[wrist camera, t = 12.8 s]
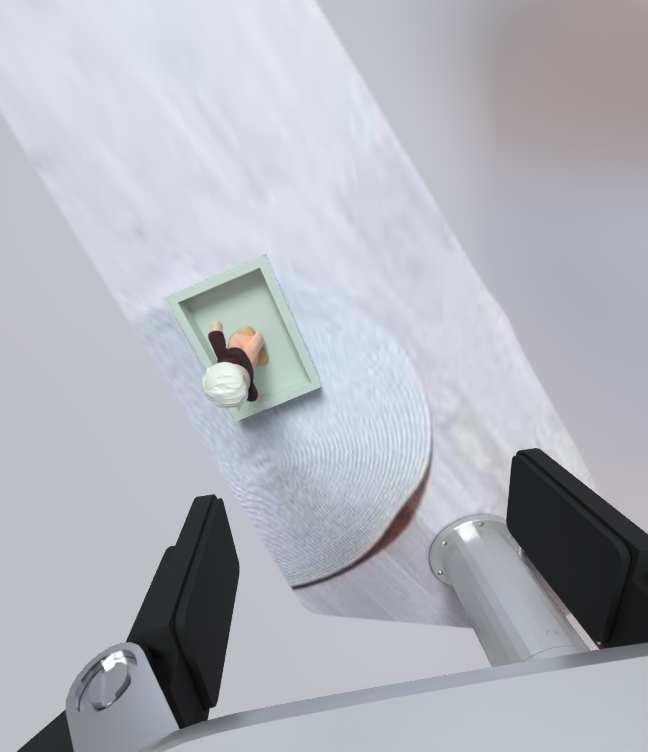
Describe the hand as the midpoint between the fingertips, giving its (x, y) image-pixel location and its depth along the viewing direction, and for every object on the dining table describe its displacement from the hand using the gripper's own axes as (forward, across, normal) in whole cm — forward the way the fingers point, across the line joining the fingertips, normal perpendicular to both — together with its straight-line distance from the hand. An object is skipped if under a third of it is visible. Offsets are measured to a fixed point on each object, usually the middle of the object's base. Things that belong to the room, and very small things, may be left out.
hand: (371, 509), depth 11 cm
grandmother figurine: (+26, +7, 0) cm, 27 cm away
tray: (+26, +7, 0) cm, 27 cm away
